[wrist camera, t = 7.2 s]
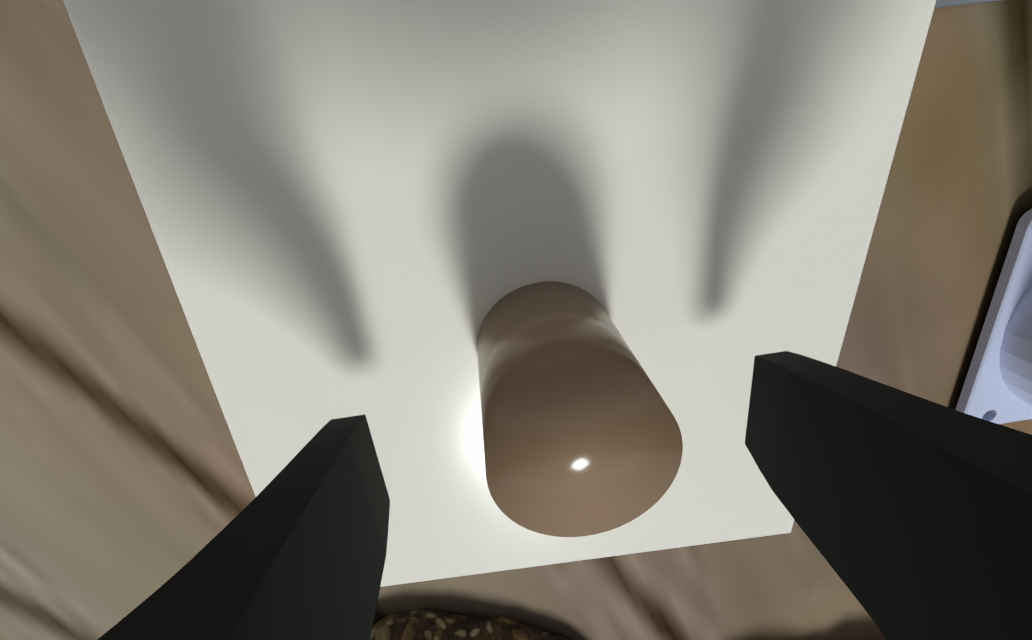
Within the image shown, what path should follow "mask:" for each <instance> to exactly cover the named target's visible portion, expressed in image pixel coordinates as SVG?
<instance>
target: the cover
mask: <svg viewBox="0 0 1032 640" xmlns="http://www.w3.org/2000/svg"><path fill="white" fill-rule="evenodd" d="M63 1H64V4H65V7H66V9H67V12H68V14H69V17H70V19H71V22H72V25H73V27H74V30H75V32H76V35H77V38H78V40H79V43H80V45H81V48H82V50H83V53H84V56H85V58H86V61H87V63H88V66H89V68H90V71H91V74H92V76H93V79H94V81H95V84H96V86H97V89H98V92H99V94H100V97H101V99H102V102H103V105H104V107H105V110H106V112H107V115H108V117H109V120H110V123H111V125H112V128H113V130H114V133H115V135H116V138H117V141H118V143H119V146H120V148H121V151H122V153H123V156H124V159H125V161H126V164H127V166H128V169H129V172H130V174H131V177H132V179H133V182H134V184H135V187H136V190H137V192H138V195H139V197H140V200H141V202H142V205H143V208H144V210H145V213H146V215H147V218H148V220H149V223H150V226H151V228H152V231H153V233H154V236H155V239H156V241H157V244H158V246H159V249H160V251H161V254H162V257H163V259H164V262H165V264H166V267H167V269H168V272H169V275H170V277H171V280H172V282H173V285H174V287H175V290H176V293H177V295H178V298H179V300H180V303H181V306H182V308H183V311H184V313H185V316H186V318H187V321H188V324H189V326H190V329H191V331H192V334H193V336H194V339H195V342H196V344H197V347H198V349H199V352H200V354H201V357H202V360H203V362H204V365H205V367H206V370H207V373H208V375H209V378H210V380H211V383H212V385H213V388H214V391H215V393H216V396H217V398H218V401H219V403H220V406H221V409H222V411H223V414H224V416H225V419H226V421H227V424H228V427H229V429H230V432H231V434H232V437H233V440H234V442H235V445H236V447H237V450H238V452H239V455H240V458H241V460H242V463H243V465H244V468H245V470H246V473H247V476H248V478H249V481H250V483H251V486H252V488H253V491H254V494H255V496H256V497H257V496H258V495H259V494H260V492H261V491H262V490H263V489H264V488H265V487H266V486H267V485H268V484H269V483H270V482H271V481H272V480H273V479H274V478H275V477H276V476H277V475H278V474H279V473H280V472H281V471H282V470H283V469H284V468H285V467H286V465H287V464H288V463H289V462H290V461H291V460H292V459H293V458H294V457H295V456H296V455H297V454H298V453H299V452H300V451H301V450H302V448H303V447H304V446H305V445H306V444H307V443H308V442H309V441H310V440H311V439H312V438H313V437H314V436H315V435H316V434H317V433H318V432H319V431H320V430H321V429H322V428H323V427H324V426H325V425H326V424H327V423H328V422H329V421H330V420H331V419H338V418H344V417H351V416H358V415H364V414H365V415H366V419H367V422H368V426H369V429H370V433H371V436H372V440H373V443H374V447H375V450H376V453H377V457H378V460H379V464H380V467H381V471H382V474H383V478H384V481H385V485H386V488H387V491H388V495H389V498H390V510H389V526H388V539H387V551H386V559H385V564H384V570H383V575H382V580H381V585H380V587H382V586H390V585H397V584H405V583H412V582H420V581H427V580H435V579H443V578H450V577H458V576H465V575H473V574H481V573H488V572H496V571H503V570H511V569H518V568H526V567H534V566H541V565H549V564H556V563H564V562H572V561H579V560H587V559H594V558H602V557H609V556H617V555H625V554H632V553H640V552H647V551H655V550H663V549H670V548H678V547H685V546H693V545H700V544H708V543H716V542H723V541H731V540H738V539H746V538H753V537H761V536H769V535H776V534H784V533H791V529H792V525H793V522H794V518H793V517H792V516H791V514H790V513H789V512H788V510H787V509H786V508H785V507H784V505H783V504H782V503H781V501H780V500H779V499H778V497H777V496H776V495H775V493H774V492H773V491H772V489H771V488H770V486H769V484H768V483H767V481H766V479H765V478H764V476H763V475H762V473H761V471H760V470H759V468H758V466H757V464H756V463H755V461H754V459H753V457H752V456H751V454H750V452H749V450H748V449H747V447H746V445H745V437H746V428H747V419H748V410H749V402H750V393H751V384H752V376H753V367H754V358H755V356H756V355H763V354H769V353H776V352H783V351H789V352H792V353H796V354H800V355H803V356H806V357H809V358H812V359H815V360H818V361H821V362H824V363H827V364H830V365H833V366H836V365H837V361H838V357H839V354H840V350H841V346H842V343H843V339H844V335H845V332H846V328H847V324H848V321H849V317H850V313H851V310H852V306H853V303H854V299H855V295H856V292H857V288H858V284H859V281H860V277H861V273H862V270H863V266H864V262H865V259H866V255H867V251H868V248H869V244H870V240H871V237H872V233H873V229H874V226H875V222H876V219H877V215H878V211H879V208H880V204H881V200H882V197H883V193H884V189H885V186H886V182H887V178H888V175H889V171H890V167H891V164H892V160H893V156H894V153H895V149H896V146H897V142H898V138H899V135H900V131H901V127H902V124H903V120H904V116H905V113H906V109H907V105H908V102H909V98H910V94H911V91H912V87H913V83H914V80H915V76H916V72H917V69H918V65H919V62H920V58H921V54H922V51H923V47H924V43H925V40H926V36H927V32H928V29H929V25H930V21H931V18H932V14H933V10H934V7H935V3H936V0H63Z"/></svg>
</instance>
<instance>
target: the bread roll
mask: <svg viewBox="0 0 1032 640" xmlns="http://www.w3.org/2000/svg"><path fill="white" fill-rule="evenodd" d="M370 640H568V639H567V638H565V637H564V636H563V635H561V634H554V635H550V634H549V633H547V632H545V631H544V630H542V629H540V628H536V627H533V626H529V625H526V624H523V623H521V622H520V621H519V620H517V619H514V618H510V617H505V616H491V617H480V618H477V617H473V616H468V615H461V614H454V613H444V612H440V611H435V610H431V609H420V610H413V611H406V612H398V613H395V614H391V615H389V616H387V617H385V618H383V619H381V620H380V621H378V622H376V623H375V624H373V626H372V631H371V636H370Z"/></svg>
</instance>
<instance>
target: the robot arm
mask: <svg viewBox="0 0 1032 640" xmlns="http://www.w3.org/2000/svg"><path fill="white" fill-rule="evenodd" d="M1027 419H1032V208H1031V209H1030V210H1028V211H1027V212H1026V213H1024V214H1023V216H1022V217H1021V218H1020V219H1019V221H1018V223H1017V226H1016V229H1015V232H1014V235H1013V238H1012V241H1011V244H1010V247H1009V250H1008V253H1007V256H1006V259H1005V262H1004V265H1003V268H1002V271H1001V274H1000V277H999V280H998V283H997V286H996V289H995V292H994V295H993V298H992V301H991V304H990V307H989V310H988V313H987V316H986V319H985V322H984V325H983V328H982V331H981V334H980V337H979V340H978V343H977V346H976V349H975V352H974V355H973V358H972V361H971V364H970V367H969V370H968V373H967V376H966V379H965V382H964V385H963V388H962V391H961V394H960V397H959V400H958V403H957V406H956V409H955V410H954V409H951V408H948V407H945V406H942V405H940V404H937V403H934V402H931V401H928V400H926V399H923V398H920V397H917V396H914V395H912V394H909V393H906V392H903V391H901V390H898V389H895V388H893V387H890V386H887V385H884V384H882V383H879V382H876V381H874V380H871V379H868V378H865V377H863V376H860V375H857V374H855V373H852V372H849V371H847V370H844V369H841V368H838V367H836V366H833V365H830V364H827V363H824V362H821V361H818V360H815V359H812V358H809V357H806V356H803V355H800V354H796V353H792V352H789V351H783V352H776V353H769V354H763V355H756V356H755V358H754V367H753V376H752V384H751V393H750V402H749V410H748V419H747V428H746V437H745V445H746V447H747V449H748V450H749V452H750V454H751V456H752V457H753V459H754V461H755V463H756V464H757V466H758V468H759V470H760V471H761V473H762V475H763V476H764V478H765V479H766V481H767V483H768V484H769V486H770V488H771V489H772V491H773V492H774V493H775V495H776V496H777V497H778V499H779V500H780V501H781V503H782V504H783V505H784V507H785V508H786V509H787V510H788V512H789V513H790V514H791V516H792V517H793V518H794V520H795V521H796V522H797V523H798V525H799V526H800V527H801V529H802V530H803V531H804V532H805V534H806V535H807V536H808V537H809V539H810V540H811V541H812V543H813V544H814V545H815V546H816V548H817V549H818V550H819V551H820V553H821V554H822V555H823V556H824V558H825V559H826V560H827V562H828V563H829V564H830V565H831V567H832V568H833V569H834V570H835V572H836V573H837V574H838V576H839V577H840V578H841V579H842V581H843V582H844V583H845V584H846V586H847V587H848V588H849V589H850V591H851V592H852V593H853V595H854V596H855V597H856V598H857V600H858V601H859V602H860V603H861V605H862V606H863V607H864V609H865V610H866V611H867V613H868V614H869V616H870V617H871V618H872V620H873V621H874V622H875V624H876V625H877V626H878V628H879V629H880V631H881V632H882V633H883V635H884V636H885V638H886V639H887V640H1032V435H1030V434H1027V433H1024V432H1020V431H1017V430H1014V429H1011V428H1008V427H1005V426H1002V425H999V424H1002V423H1008V422H1014V421H1021V420H1027ZM389 510H390V498H389V495H388V491H387V488H386V485H385V481H384V478H383V474H382V471H381V467H380V464H379V460H378V457H377V453H376V450H375V447H374V443H373V440H372V436H371V433H370V429H369V426H368V422H367V419H366V415H365V414H364V415H358V416H351V417H344V418H338V419H331V420H330V421H329V422H328V423H327V424H326V425H325V426H324V427H323V428H322V429H321V430H320V431H319V432H318V433H317V434H316V435H315V436H314V437H313V438H312V439H311V440H310V441H309V442H308V443H307V444H306V445H305V446H304V447H303V448H302V450H301V451H300V452H299V453H298V454H297V455H296V456H295V457H294V458H293V459H292V460H291V461H290V462H289V463H288V464H287V465H286V467H285V468H284V469H283V470H282V471H281V472H280V473H279V474H278V475H277V476H276V477H275V478H274V479H273V480H272V481H271V482H270V483H269V484H268V485H267V486H266V487H265V488H264V489H263V490H262V491H261V492H260V494H259V495H258V496H257V497H256V498H255V499H254V500H253V501H252V502H251V503H250V504H249V505H248V506H247V507H246V508H245V509H244V510H243V511H242V512H241V513H240V514H238V515H237V516H236V517H235V518H234V519H233V520H232V521H231V522H230V523H229V524H228V525H227V526H226V527H225V528H224V529H223V530H222V531H221V532H220V533H219V534H218V535H217V536H216V537H215V538H213V539H212V540H211V541H210V542H209V543H208V544H207V545H206V546H205V547H204V548H203V549H202V550H201V551H200V552H199V553H198V554H197V555H196V556H195V557H194V558H193V559H192V560H190V561H189V562H188V563H187V564H186V565H185V566H184V567H183V568H182V569H181V570H179V571H178V572H177V573H176V574H175V575H174V576H173V577H172V578H170V579H169V580H168V581H167V582H166V583H165V584H164V585H162V586H161V587H160V588H159V589H158V590H157V591H156V592H154V593H153V594H152V595H151V596H150V597H148V598H147V599H146V600H145V601H144V602H142V603H141V604H140V605H139V606H138V607H137V608H135V609H134V610H133V611H132V612H131V613H129V614H128V615H127V616H126V617H125V618H123V619H122V620H121V621H120V622H119V623H117V624H116V625H115V626H114V627H113V628H111V629H110V630H109V631H108V632H106V633H105V634H104V635H103V636H101V637H100V638H99V639H98V640H370V636H371V631H372V626H373V621H374V616H375V611H376V606H377V601H378V596H379V590H380V585H381V580H382V575H383V570H384V564H385V559H386V551H387V539H388V526H389Z"/></svg>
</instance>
